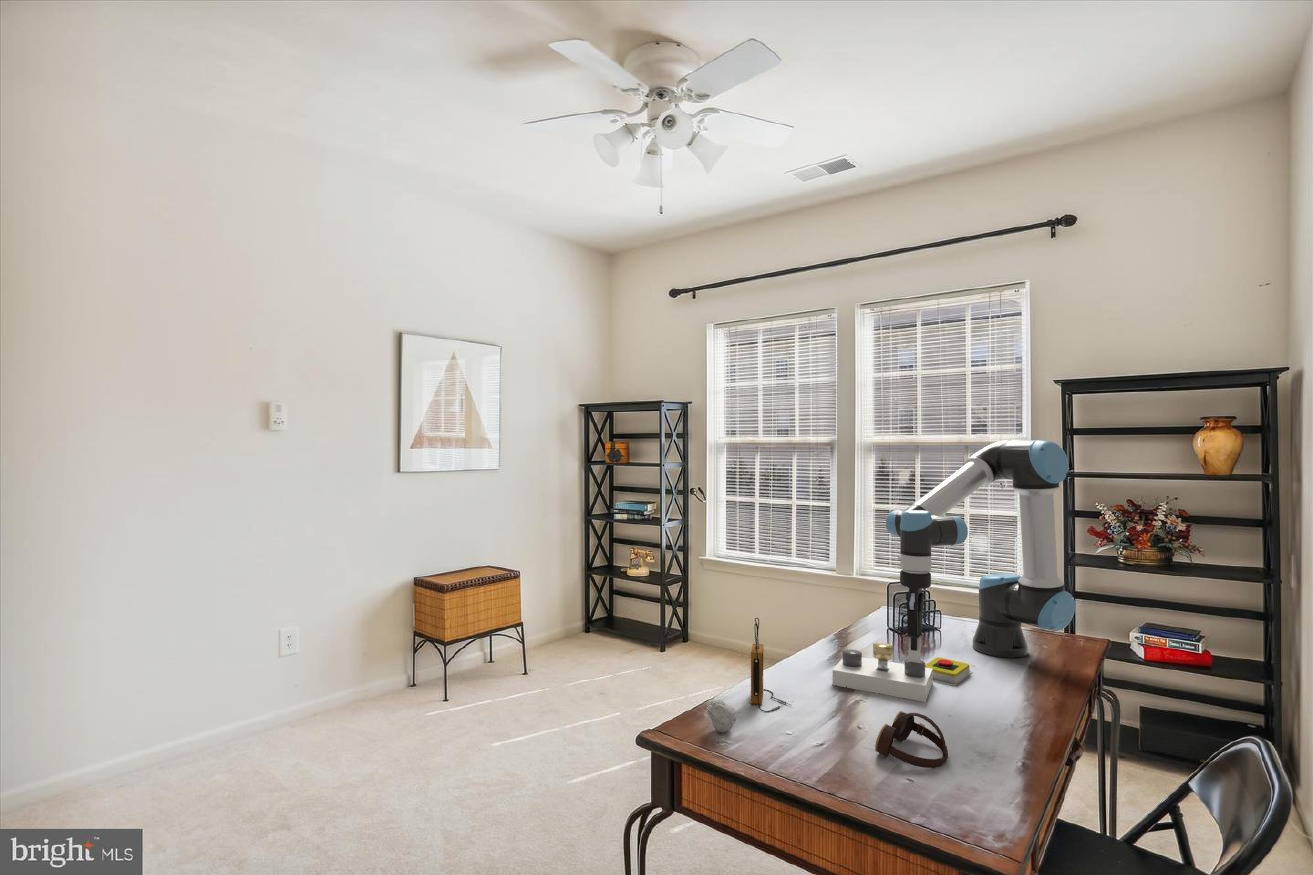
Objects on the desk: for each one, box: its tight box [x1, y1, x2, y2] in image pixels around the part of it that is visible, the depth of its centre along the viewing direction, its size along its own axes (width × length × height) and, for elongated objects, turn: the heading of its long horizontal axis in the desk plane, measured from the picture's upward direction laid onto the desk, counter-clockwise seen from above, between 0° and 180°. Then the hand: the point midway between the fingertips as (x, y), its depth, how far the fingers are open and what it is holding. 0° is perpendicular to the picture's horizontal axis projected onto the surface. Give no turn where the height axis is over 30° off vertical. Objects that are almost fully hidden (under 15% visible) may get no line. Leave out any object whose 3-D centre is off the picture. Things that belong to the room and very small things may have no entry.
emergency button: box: [925, 656, 973, 687], centre depth 188 cm, size 9×4×15 cm
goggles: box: [874, 710, 949, 769], centre depth 142 cm, size 15×13×10 cm
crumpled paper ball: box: [706, 699, 737, 733], centre depth 152 cm, size 6×7×7 cm
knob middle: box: [872, 642, 894, 672], centre depth 181 cm, size 5×5×7 cm
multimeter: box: [750, 617, 792, 713], centre depth 169 cm, size 15×10×20 cm
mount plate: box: [832, 657, 934, 703], centre depth 181 cm, size 23×14×4 cm, turn 61°
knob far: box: [842, 649, 863, 667], centre depth 185 cm, size 5×5×7 cm
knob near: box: [904, 658, 926, 677], centre depth 177 cm, size 5×5×7 cm
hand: (914, 661), depth 177 cm, fingers closed
